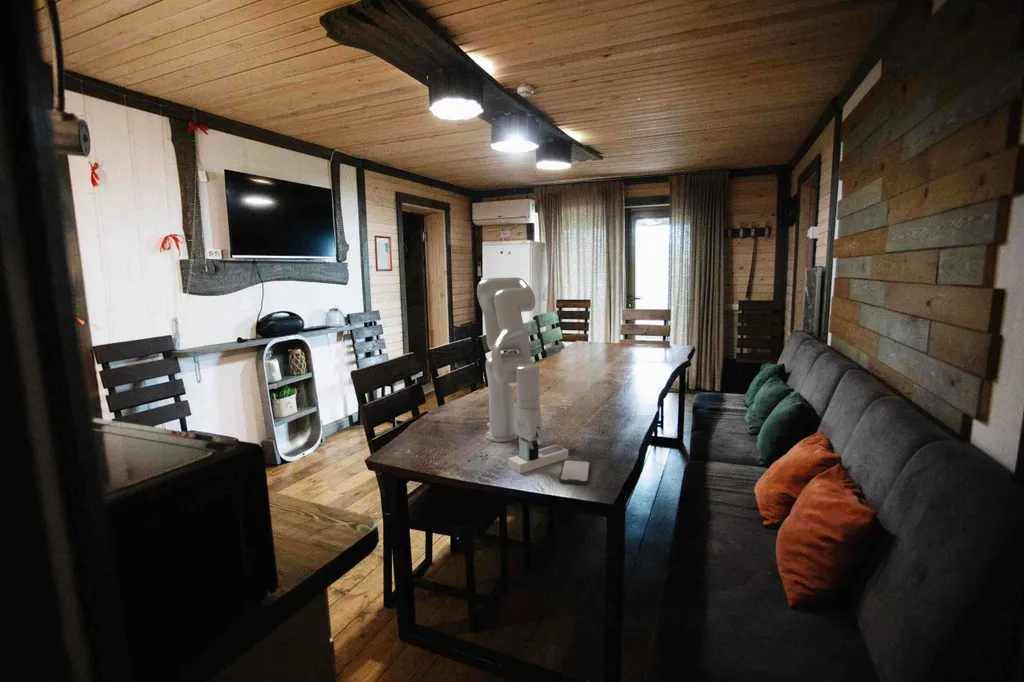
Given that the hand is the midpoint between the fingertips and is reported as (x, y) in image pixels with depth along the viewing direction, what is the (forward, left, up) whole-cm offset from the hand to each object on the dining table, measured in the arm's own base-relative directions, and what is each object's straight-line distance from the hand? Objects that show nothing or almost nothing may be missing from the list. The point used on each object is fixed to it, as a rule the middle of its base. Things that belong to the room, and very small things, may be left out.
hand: (529, 456), depth 162 cm
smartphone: (+13, +8, -4) cm, 16 cm away
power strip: (0, +7, -3) cm, 8 cm away
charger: (0, 0, -2) cm, 2 cm away
